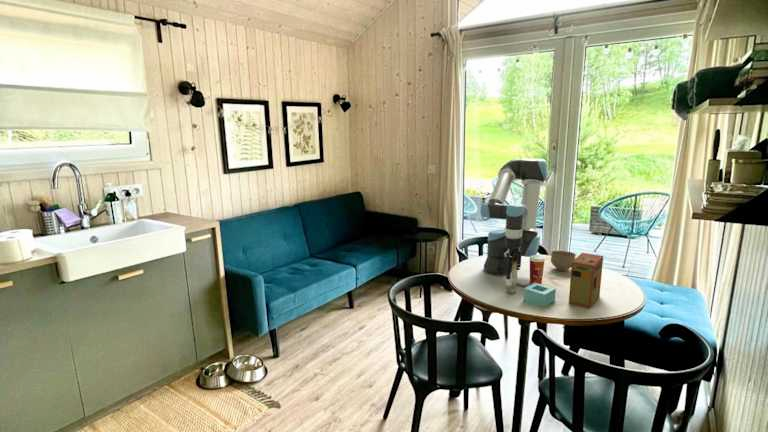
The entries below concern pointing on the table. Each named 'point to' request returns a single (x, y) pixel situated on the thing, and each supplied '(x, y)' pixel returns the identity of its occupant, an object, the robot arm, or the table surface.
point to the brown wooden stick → (521, 285)
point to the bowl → (562, 259)
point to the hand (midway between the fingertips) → (511, 283)
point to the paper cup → (536, 268)
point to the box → (585, 280)
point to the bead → (539, 294)
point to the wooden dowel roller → (513, 279)
